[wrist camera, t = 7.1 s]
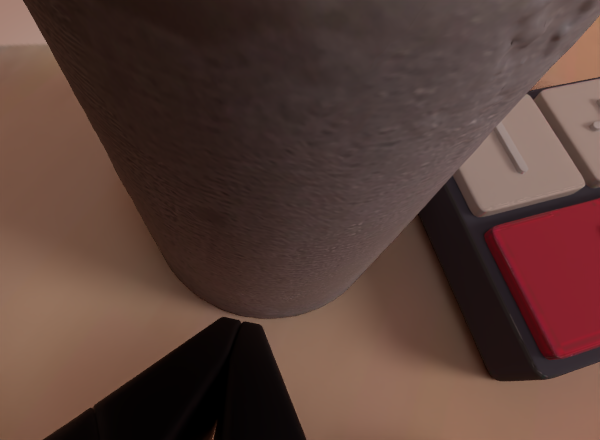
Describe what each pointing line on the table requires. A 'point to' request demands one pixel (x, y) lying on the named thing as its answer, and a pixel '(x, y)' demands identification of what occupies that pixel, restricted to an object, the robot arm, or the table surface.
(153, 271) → the table surface
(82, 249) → the table surface
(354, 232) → the pillar candle
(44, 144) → the table surface
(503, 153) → the calculator
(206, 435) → the robot arm
